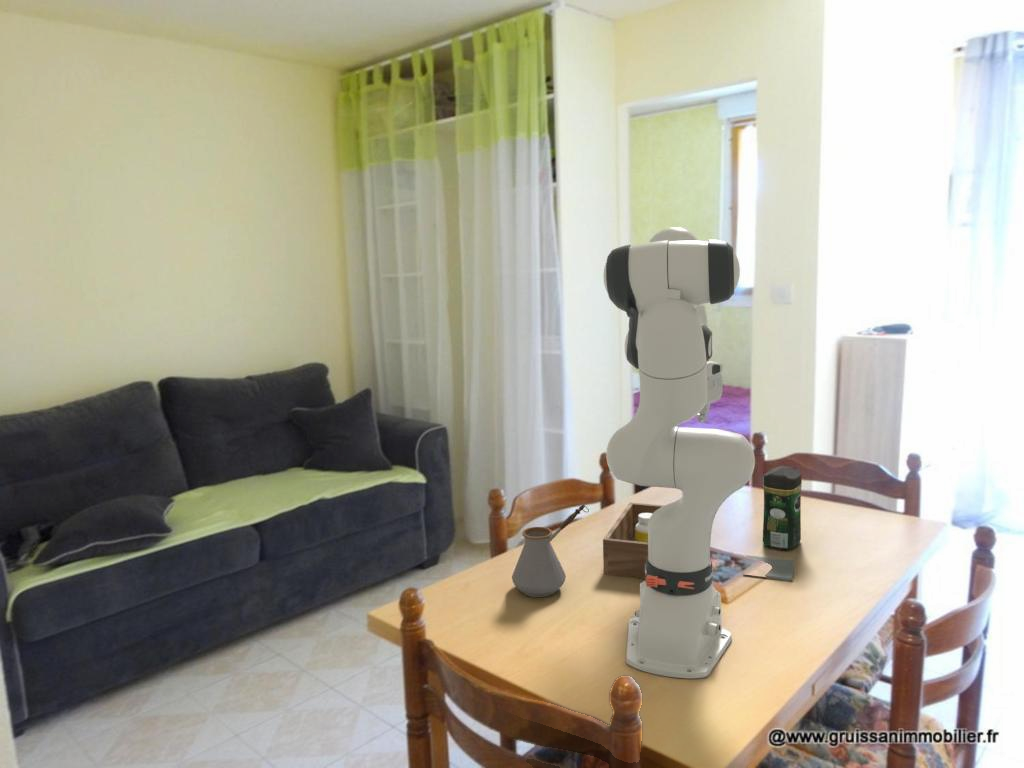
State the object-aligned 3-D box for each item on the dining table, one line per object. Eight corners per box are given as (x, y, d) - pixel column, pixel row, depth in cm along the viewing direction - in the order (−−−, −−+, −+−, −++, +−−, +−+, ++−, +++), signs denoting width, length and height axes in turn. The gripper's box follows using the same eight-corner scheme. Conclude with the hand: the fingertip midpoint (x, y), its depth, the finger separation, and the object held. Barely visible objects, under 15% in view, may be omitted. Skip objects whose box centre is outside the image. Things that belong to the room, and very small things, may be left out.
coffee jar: (771, 534, 181) (772, 461, 178) (804, 540, 177) (806, 466, 174) (757, 546, 174) (758, 471, 171) (791, 553, 169) (793, 476, 166)
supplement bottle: (658, 560, 168) (658, 519, 167) (634, 559, 169) (634, 519, 168) (658, 551, 174) (658, 511, 172) (635, 550, 175) (635, 511, 173)
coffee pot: (539, 606, 148) (536, 536, 146) (501, 590, 156) (498, 523, 154) (607, 573, 162) (605, 509, 160) (568, 560, 171) (567, 498, 168)
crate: (666, 581, 157) (666, 546, 156) (603, 573, 162) (602, 539, 161) (686, 538, 181) (686, 507, 179) (630, 532, 186) (629, 502, 185)
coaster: (792, 581, 155) (792, 578, 155) (743, 575, 159) (743, 572, 159) (793, 562, 164) (793, 560, 164) (746, 557, 168) (746, 555, 168)
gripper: (666, 383, 160) (667, 441, 165) (727, 363, 171) (726, 418, 175) (645, 377, 166) (646, 434, 170) (706, 358, 176) (706, 412, 180)
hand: (688, 426), depth 173 cm, fingers open, 8 cm apart
